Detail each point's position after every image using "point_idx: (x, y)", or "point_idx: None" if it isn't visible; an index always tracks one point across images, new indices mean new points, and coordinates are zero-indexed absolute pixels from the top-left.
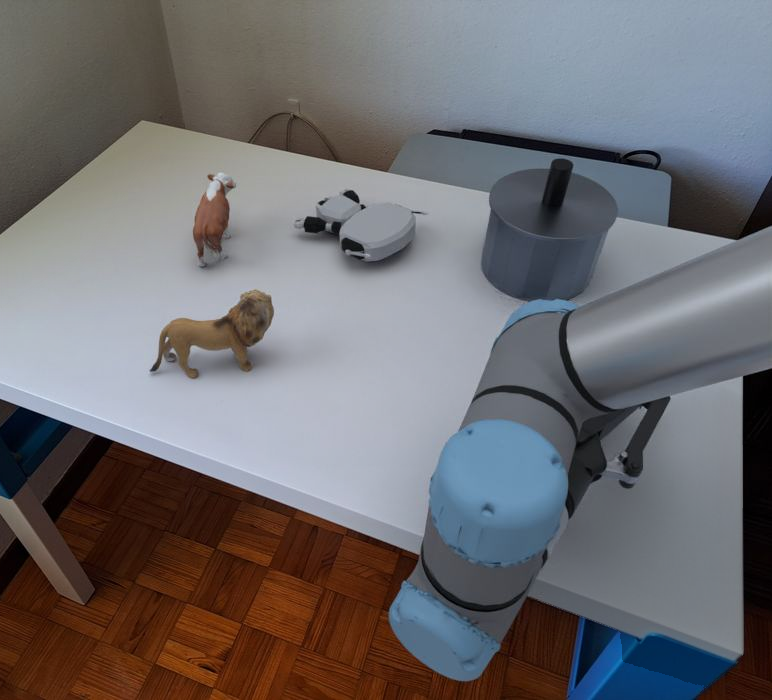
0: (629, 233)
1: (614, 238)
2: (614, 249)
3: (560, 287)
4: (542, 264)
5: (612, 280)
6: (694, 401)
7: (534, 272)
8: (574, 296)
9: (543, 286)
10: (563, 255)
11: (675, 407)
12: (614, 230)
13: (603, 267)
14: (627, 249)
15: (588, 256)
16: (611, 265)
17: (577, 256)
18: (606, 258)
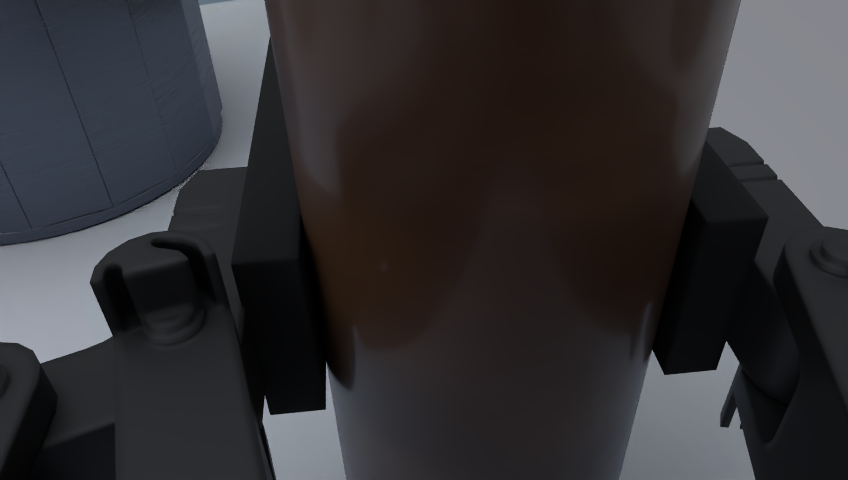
0: (257, 13)
1: (231, 29)
2: (243, 45)
3: (135, 144)
4: (12, 78)
5: None
6: None
7: (6, 122)
8: (199, 163)
9: (75, 161)
10: (64, 15)
11: None
12: (223, 19)
13: (239, 81)
14: (270, 36)
15: (161, 10)
16: (254, 72)
17: (119, 9)
18: (235, 64)
